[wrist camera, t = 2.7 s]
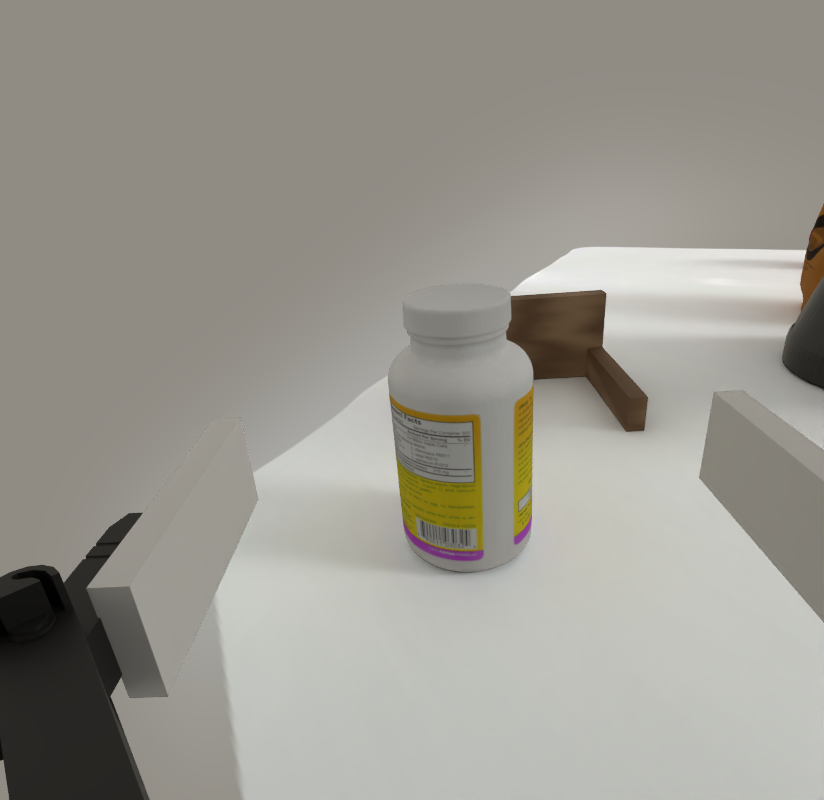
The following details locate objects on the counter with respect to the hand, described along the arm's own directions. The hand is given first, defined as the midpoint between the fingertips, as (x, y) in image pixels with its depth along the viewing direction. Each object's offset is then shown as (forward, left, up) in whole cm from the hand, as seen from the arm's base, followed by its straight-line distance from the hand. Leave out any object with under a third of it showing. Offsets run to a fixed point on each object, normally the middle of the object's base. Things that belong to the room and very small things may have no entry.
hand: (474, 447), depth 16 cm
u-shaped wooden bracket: (-7, -25, -11) cm, 28 cm away
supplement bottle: (0, -10, -11) cm, 15 cm away
